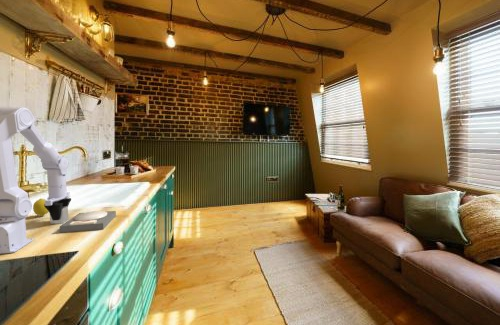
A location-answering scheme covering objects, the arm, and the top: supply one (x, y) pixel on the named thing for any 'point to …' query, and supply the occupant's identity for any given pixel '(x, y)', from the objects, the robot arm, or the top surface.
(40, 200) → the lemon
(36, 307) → the top surface
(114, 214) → the scale
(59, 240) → the top surface
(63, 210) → the block
